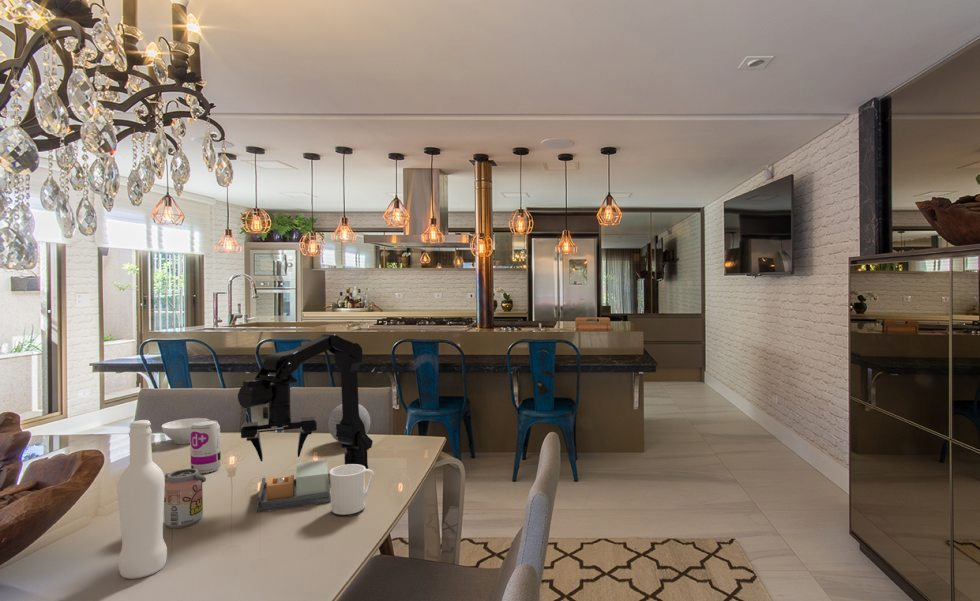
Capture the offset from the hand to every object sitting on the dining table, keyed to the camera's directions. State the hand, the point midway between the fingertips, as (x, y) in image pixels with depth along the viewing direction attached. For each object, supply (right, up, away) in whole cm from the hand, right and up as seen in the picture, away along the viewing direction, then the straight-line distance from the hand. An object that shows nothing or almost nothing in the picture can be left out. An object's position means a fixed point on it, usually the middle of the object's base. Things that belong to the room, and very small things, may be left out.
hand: (280, 458), depth 141 cm
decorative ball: (+5, -10, +52) cm, 53 cm away
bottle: (-13, -12, -36) cm, 40 cm away
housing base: (+3, -11, +1) cm, 11 cm away
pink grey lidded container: (-18, -11, -13) cm, 25 cm away
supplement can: (-33, -11, +24) cm, 42 cm away
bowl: (-58, -11, +57) cm, 82 cm away
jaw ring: (0, -10, 0) cm, 10 cm away
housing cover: (+8, -9, +3) cm, 12 cm away
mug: (+22, -11, -8) cm, 26 cm away
